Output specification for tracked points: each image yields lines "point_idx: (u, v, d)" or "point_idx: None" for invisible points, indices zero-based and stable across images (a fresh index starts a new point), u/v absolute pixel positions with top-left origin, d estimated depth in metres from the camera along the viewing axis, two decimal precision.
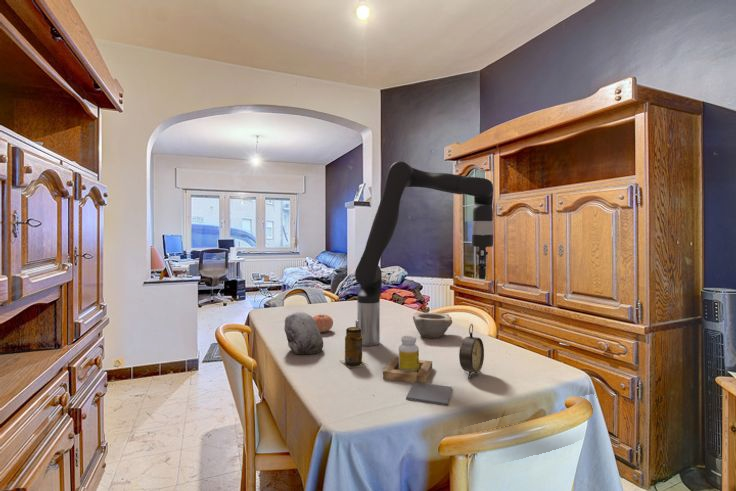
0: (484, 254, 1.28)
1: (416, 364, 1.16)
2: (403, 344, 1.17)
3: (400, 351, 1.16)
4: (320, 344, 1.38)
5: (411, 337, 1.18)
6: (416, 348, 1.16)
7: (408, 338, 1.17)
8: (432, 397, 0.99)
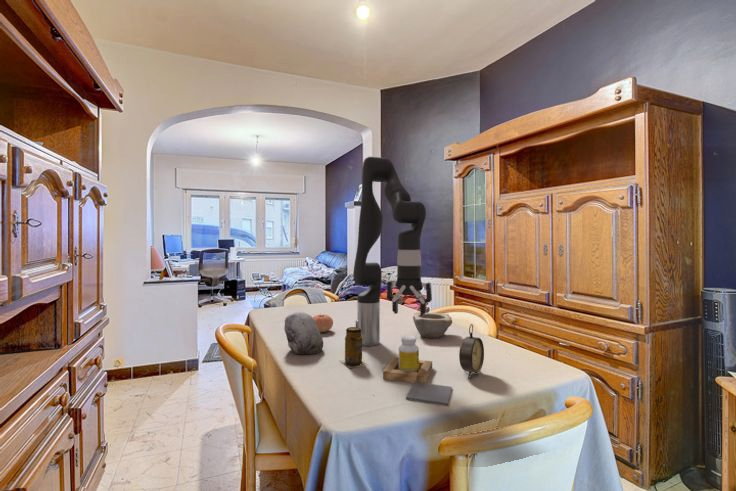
0: (430, 287, 1.16)
1: (416, 364, 1.16)
2: (403, 344, 1.17)
3: (400, 351, 1.16)
4: (320, 344, 1.38)
5: (411, 337, 1.18)
6: (416, 348, 1.16)
7: (408, 338, 1.17)
8: (432, 397, 0.99)
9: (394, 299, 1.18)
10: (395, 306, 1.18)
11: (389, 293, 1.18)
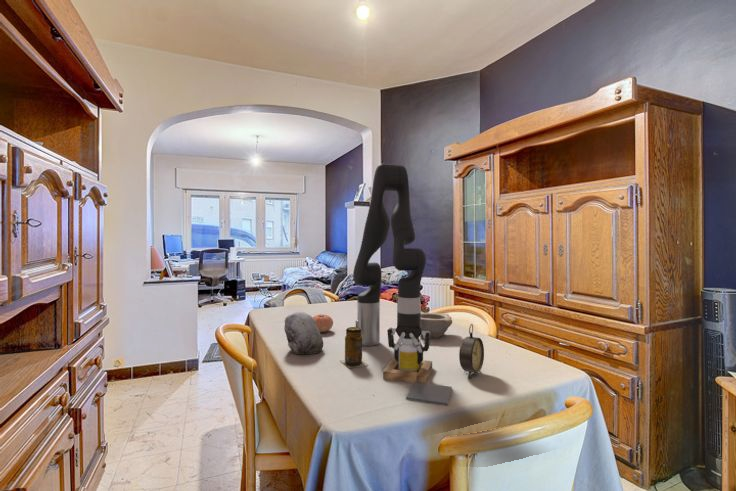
0: None
1: (416, 364, 1.16)
2: (403, 344, 1.17)
3: (400, 351, 1.16)
4: (320, 344, 1.38)
5: None
6: (416, 348, 1.16)
7: None
8: (432, 397, 0.99)
9: (396, 347, 1.18)
10: (397, 354, 1.18)
11: (390, 341, 1.19)
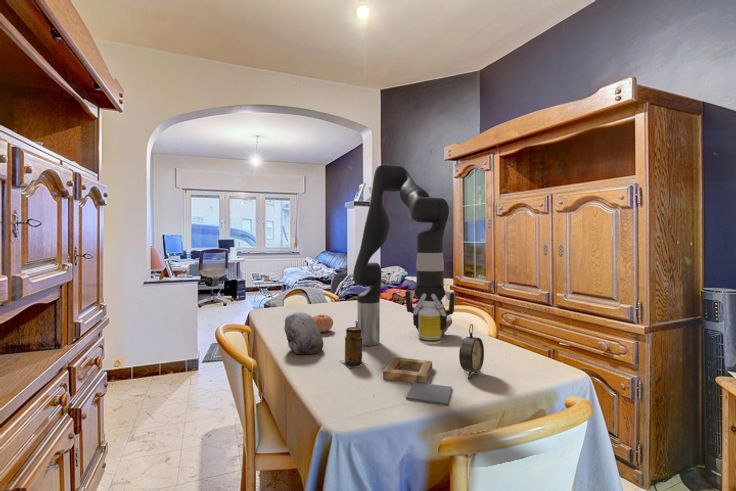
0: (454, 297, 1.01)
1: (439, 330, 1.00)
2: (424, 307, 1.01)
3: (420, 316, 1.01)
4: (320, 344, 1.38)
5: None
6: (439, 311, 1.01)
7: None
8: (432, 397, 0.99)
9: (415, 311, 1.02)
10: (417, 319, 1.03)
11: (408, 305, 1.03)
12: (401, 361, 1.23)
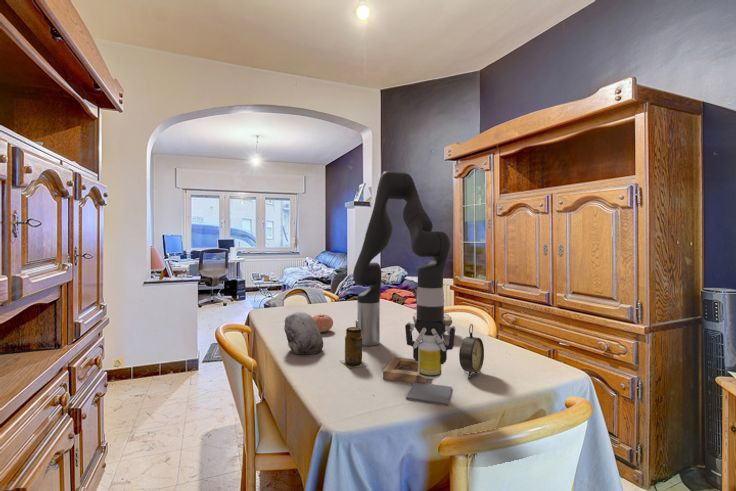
0: (454, 332, 1.01)
1: (439, 364, 1.00)
2: (424, 341, 1.01)
3: (420, 350, 1.01)
4: (320, 344, 1.38)
5: None
6: (439, 346, 1.01)
7: None
8: (432, 397, 0.99)
9: (415, 345, 1.03)
10: (416, 353, 1.03)
11: (408, 338, 1.03)
12: (401, 361, 1.23)
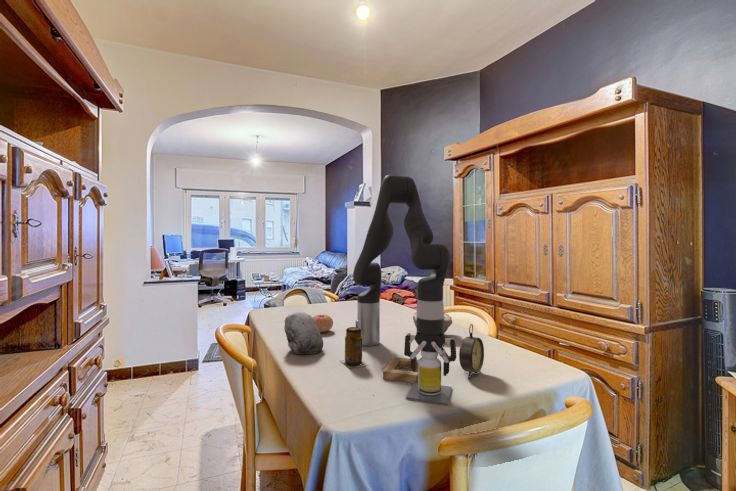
0: (455, 343, 1.01)
1: (439, 381, 1.01)
2: (423, 358, 1.02)
3: (419, 367, 1.01)
4: (320, 344, 1.38)
5: None
6: (438, 363, 1.01)
7: None
8: (432, 397, 0.99)
9: (413, 356, 1.03)
10: (414, 363, 1.03)
11: (406, 349, 1.03)
12: (401, 361, 1.23)
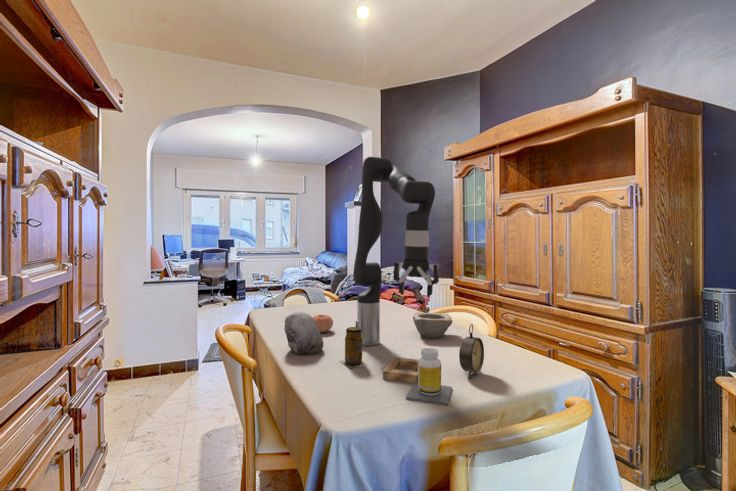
0: (438, 268, 1.15)
1: (439, 381, 1.01)
2: (423, 358, 1.02)
3: (419, 367, 1.01)
4: (320, 344, 1.38)
5: (432, 350, 1.03)
6: (438, 363, 1.01)
7: (429, 351, 1.02)
8: (432, 397, 0.99)
9: (401, 280, 1.17)
10: (401, 287, 1.17)
11: (395, 274, 1.18)
12: (401, 361, 1.23)
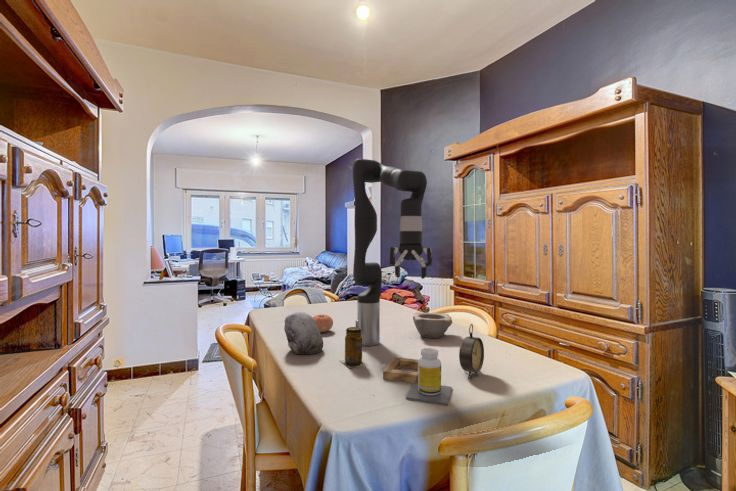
0: (431, 251, 1.22)
1: (439, 381, 1.01)
2: (423, 358, 1.02)
3: (419, 367, 1.01)
4: (320, 344, 1.38)
5: (432, 350, 1.03)
6: (438, 363, 1.01)
7: (429, 351, 1.02)
8: (432, 397, 0.99)
9: (396, 263, 1.24)
10: (397, 270, 1.24)
11: (391, 258, 1.25)
12: (401, 361, 1.23)
